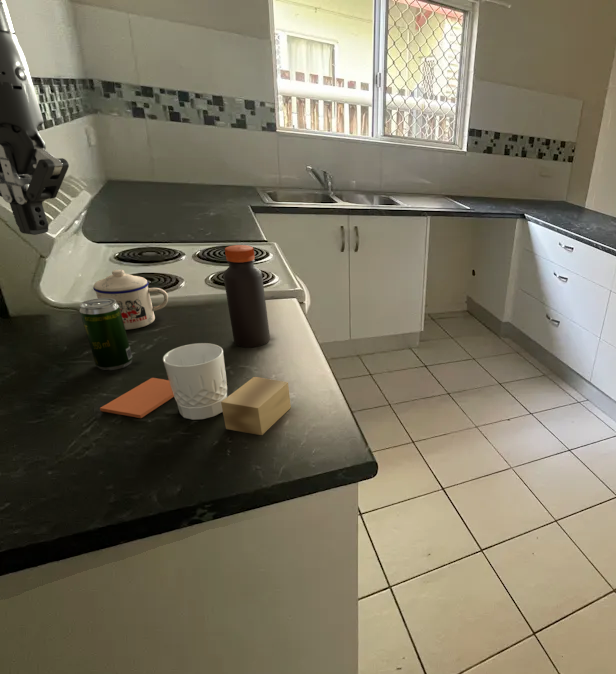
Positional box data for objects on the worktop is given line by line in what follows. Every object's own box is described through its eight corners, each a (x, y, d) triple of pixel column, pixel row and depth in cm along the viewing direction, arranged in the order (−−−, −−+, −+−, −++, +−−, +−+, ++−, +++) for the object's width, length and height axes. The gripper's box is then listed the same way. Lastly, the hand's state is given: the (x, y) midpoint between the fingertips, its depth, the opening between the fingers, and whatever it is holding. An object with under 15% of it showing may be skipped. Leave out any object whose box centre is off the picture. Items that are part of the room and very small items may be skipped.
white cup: (163, 416, 74) (149, 360, 70) (203, 391, 82) (192, 339, 77) (206, 426, 73) (194, 370, 69) (243, 400, 80) (234, 348, 76)
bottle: (267, 332, 104) (255, 242, 96) (273, 344, 99) (261, 251, 91) (232, 337, 101) (217, 244, 92) (236, 350, 96) (221, 253, 87)
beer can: (134, 355, 90) (118, 296, 85) (133, 367, 86) (116, 306, 81) (97, 360, 87) (79, 299, 82) (94, 373, 83) (75, 310, 78)
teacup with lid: (101, 333, 97) (85, 279, 92) (106, 317, 103) (92, 265, 99) (172, 326, 103) (160, 274, 98) (172, 310, 110) (162, 262, 105)
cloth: (100, 411, 74) (99, 407, 74) (152, 380, 83) (152, 377, 83) (141, 418, 73) (140, 415, 73) (189, 386, 83) (188, 383, 82)
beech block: (225, 429, 73) (220, 401, 71) (257, 402, 80) (254, 376, 78) (262, 435, 73) (257, 408, 70) (291, 407, 80) (288, 382, 78)
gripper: (-112, 67, 49) (-47, 232, 56) (0, 79, 48) (52, 246, 55) (-28, 74, 56) (21, 221, 63) (72, 85, 55) (110, 233, 62)
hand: (35, 232), depth 59 cm, fingers closed
